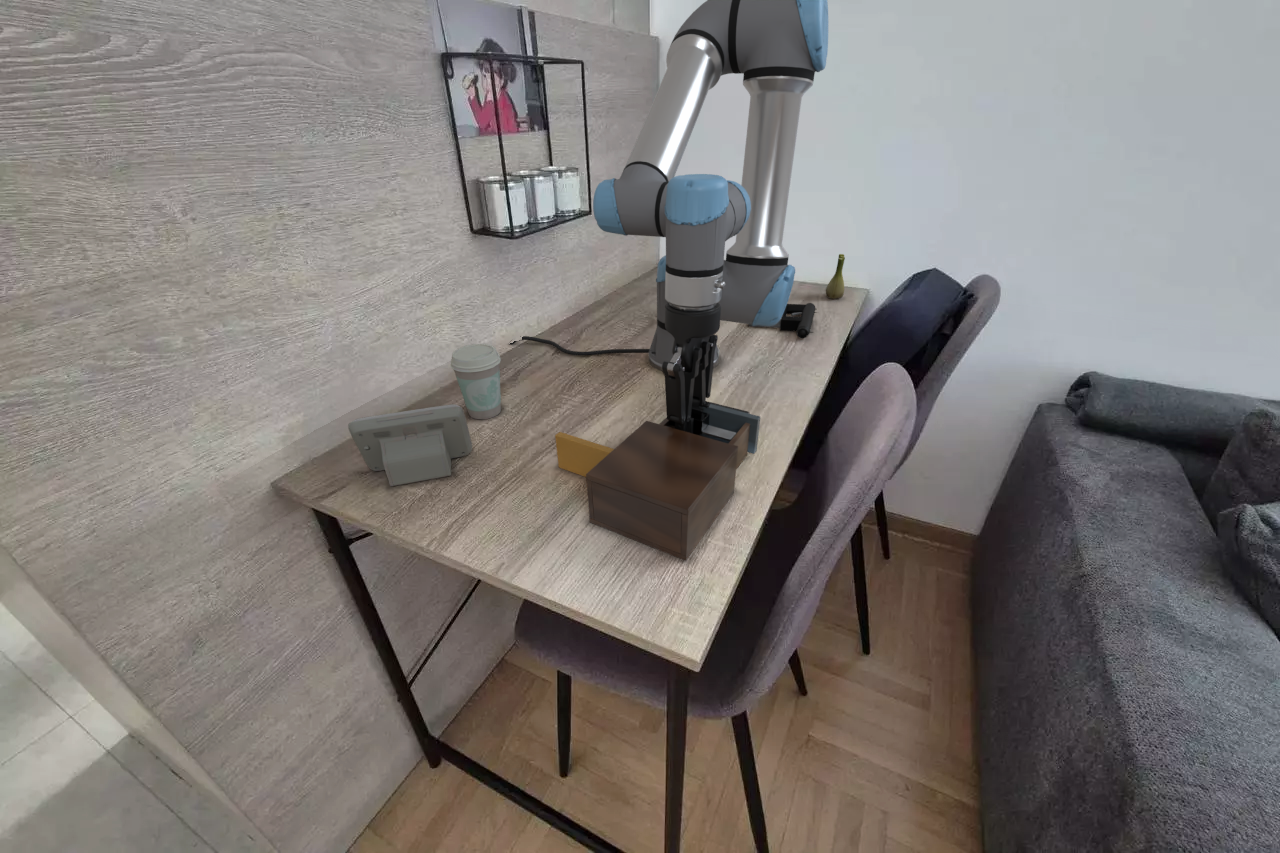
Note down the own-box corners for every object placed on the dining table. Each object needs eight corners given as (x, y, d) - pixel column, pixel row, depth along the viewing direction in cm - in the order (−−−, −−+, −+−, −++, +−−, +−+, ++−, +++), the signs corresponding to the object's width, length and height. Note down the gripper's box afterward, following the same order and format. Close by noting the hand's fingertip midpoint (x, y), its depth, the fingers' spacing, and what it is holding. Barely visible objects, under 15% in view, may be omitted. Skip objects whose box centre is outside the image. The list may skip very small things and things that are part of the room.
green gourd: (835, 302, 151) (843, 258, 145) (820, 298, 154) (827, 255, 148) (846, 297, 154) (854, 254, 148) (831, 293, 158) (838, 251, 151)
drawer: (693, 417, 96) (694, 385, 93) (766, 437, 90) (770, 404, 87) (638, 473, 82) (637, 437, 79) (720, 500, 76) (723, 463, 73)
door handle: (744, 324, 130) (814, 328, 125) (758, 299, 146) (820, 301, 141) (744, 337, 132) (813, 341, 127) (757, 311, 148) (819, 314, 143)
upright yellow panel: (558, 467, 85) (554, 435, 82) (563, 463, 86) (559, 431, 83) (612, 486, 81) (610, 453, 78) (616, 482, 82) (614, 449, 78)
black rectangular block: (668, 424, 83) (669, 412, 82) (676, 417, 85) (676, 405, 84) (730, 442, 79) (731, 429, 78) (736, 433, 81) (737, 420, 79)
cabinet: (646, 464, 85) (646, 420, 81) (734, 493, 79) (738, 446, 75) (589, 522, 74) (585, 474, 70) (686, 561, 67) (688, 510, 63)
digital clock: (478, 449, 90) (466, 392, 84) (468, 481, 82) (455, 421, 77) (377, 455, 89) (358, 398, 83) (358, 489, 81) (336, 428, 76)
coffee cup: (461, 426, 96) (447, 364, 90) (461, 404, 103) (449, 345, 97) (510, 419, 98) (500, 358, 92) (507, 398, 105) (497, 340, 99)
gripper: (692, 325, 65) (687, 482, 78) (741, 290, 77) (729, 431, 89) (639, 315, 69) (641, 467, 81) (693, 283, 80) (688, 420, 92)
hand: (688, 448), depth 85 cm, fingers closed on black rectangular block, 3 cm apart
